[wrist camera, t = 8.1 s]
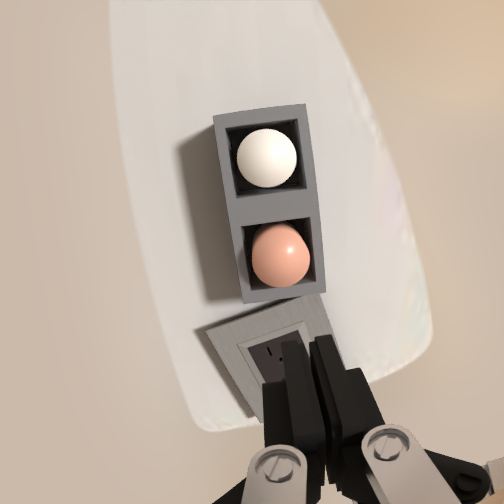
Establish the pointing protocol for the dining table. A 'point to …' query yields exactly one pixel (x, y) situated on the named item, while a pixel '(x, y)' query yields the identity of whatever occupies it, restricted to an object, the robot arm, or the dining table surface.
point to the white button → (266, 158)
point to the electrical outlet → (267, 343)
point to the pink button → (279, 254)
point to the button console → (272, 200)
